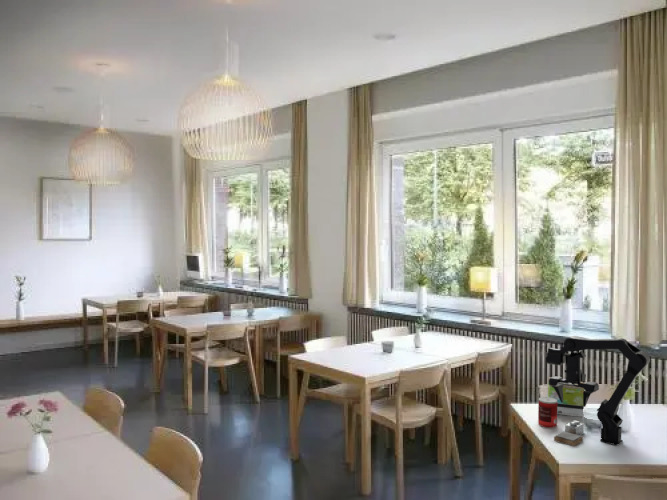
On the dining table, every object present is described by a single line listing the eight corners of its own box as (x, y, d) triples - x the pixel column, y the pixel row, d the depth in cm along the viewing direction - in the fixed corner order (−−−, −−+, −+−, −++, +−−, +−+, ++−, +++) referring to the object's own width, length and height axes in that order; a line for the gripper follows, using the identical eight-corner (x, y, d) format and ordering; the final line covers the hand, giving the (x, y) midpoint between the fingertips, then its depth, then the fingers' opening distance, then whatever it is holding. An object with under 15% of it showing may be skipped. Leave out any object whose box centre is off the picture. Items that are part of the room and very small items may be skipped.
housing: (583, 433, 237) (583, 421, 237) (576, 437, 233) (576, 425, 233) (572, 430, 241) (573, 418, 241) (565, 434, 236) (565, 422, 236)
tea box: (548, 414, 261) (549, 382, 261) (546, 407, 271) (547, 376, 271) (583, 417, 257) (584, 385, 257) (581, 410, 267) (581, 379, 266)
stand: (582, 441, 228) (582, 436, 228) (573, 446, 223) (574, 441, 223) (563, 435, 234) (563, 430, 234) (554, 440, 229) (554, 435, 229)
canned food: (554, 421, 251) (554, 397, 250) (559, 428, 243) (559, 402, 243) (536, 421, 252) (536, 396, 251) (540, 427, 244) (541, 401, 243)
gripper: (603, 367, 236) (603, 404, 236) (558, 360, 249) (558, 396, 249) (593, 371, 228) (593, 410, 228) (547, 365, 241) (548, 401, 241)
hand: (573, 404), depth 237 cm, fingers open, 9 cm apart
